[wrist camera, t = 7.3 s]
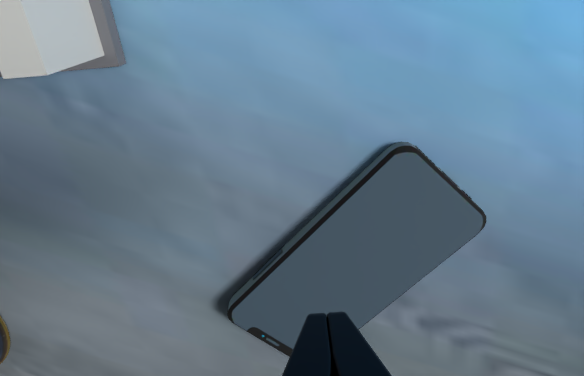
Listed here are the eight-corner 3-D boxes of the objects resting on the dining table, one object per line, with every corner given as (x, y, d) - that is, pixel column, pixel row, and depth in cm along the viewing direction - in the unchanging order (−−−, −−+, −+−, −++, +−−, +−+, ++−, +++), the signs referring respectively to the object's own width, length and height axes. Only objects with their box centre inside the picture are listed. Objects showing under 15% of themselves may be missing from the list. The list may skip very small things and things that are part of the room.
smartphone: (497, 224, 21) (311, 372, 25) (482, 209, 22) (309, 351, 27) (406, 137, 18) (218, 318, 23) (396, 126, 20) (222, 298, 25)
